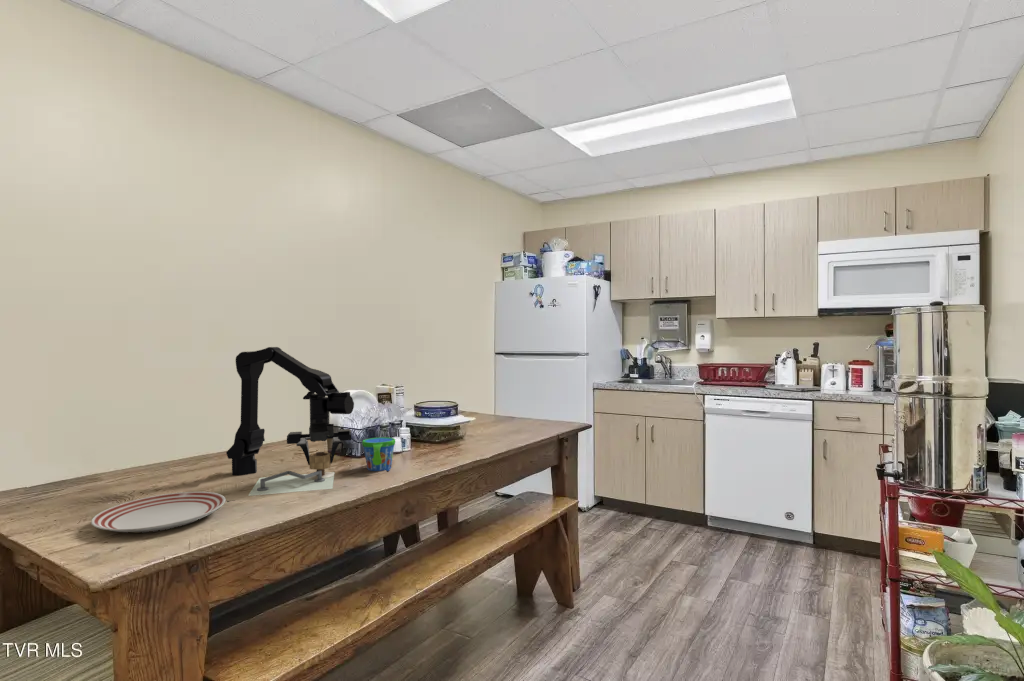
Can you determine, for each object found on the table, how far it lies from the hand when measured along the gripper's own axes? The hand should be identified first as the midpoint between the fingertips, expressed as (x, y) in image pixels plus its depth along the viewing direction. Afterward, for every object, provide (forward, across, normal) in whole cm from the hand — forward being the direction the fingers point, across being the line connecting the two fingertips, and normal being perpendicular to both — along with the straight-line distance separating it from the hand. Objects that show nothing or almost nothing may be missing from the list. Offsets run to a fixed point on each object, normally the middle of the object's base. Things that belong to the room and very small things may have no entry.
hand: (320, 464), depth 172 cm
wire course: (+5, -7, -6) cm, 10 cm away
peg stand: (+4, 0, 0) cm, 4 cm away
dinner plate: (+5, -35, -29) cm, 46 cm away
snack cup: (+5, +18, +5) cm, 19 cm away
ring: (+1, 0, 0) cm, 1 cm away
